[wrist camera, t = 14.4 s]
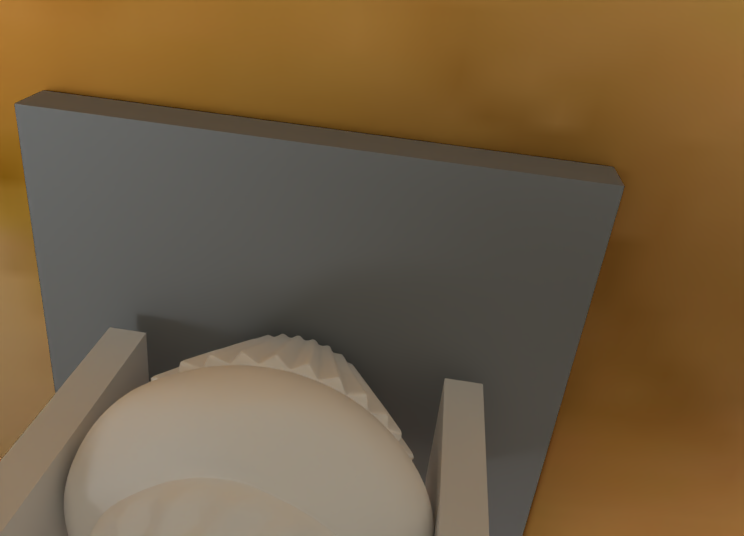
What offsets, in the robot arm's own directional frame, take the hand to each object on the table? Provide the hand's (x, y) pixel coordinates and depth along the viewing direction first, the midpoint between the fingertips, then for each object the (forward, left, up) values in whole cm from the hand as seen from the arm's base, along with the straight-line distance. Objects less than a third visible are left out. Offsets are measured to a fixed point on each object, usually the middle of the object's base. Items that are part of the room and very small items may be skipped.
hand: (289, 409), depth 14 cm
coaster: (0, 0, -2) cm, 2 cm away
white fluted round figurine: (0, 0, 0) cm, 1 cm away
